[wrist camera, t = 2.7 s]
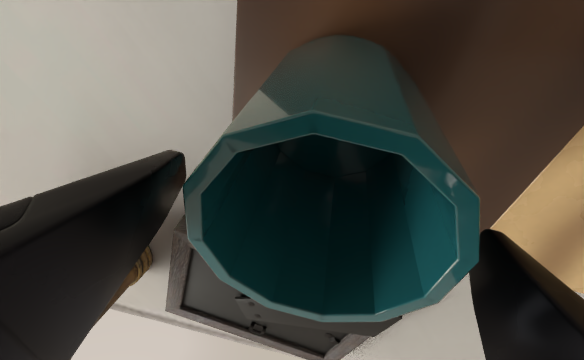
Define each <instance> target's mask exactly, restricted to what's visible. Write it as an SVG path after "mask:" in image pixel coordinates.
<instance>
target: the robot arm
mask: <svg viewBox="0 0 584 360" xmlns="http://www.w3.org/2000/svg"><path fill="white" fill-rule="evenodd" d="M185 179H186V166H185V157H184V154H183V153H181V152H177V151H173V150H167V151H164V152H161V153H158V154H155V155H152V156H149V157H146V158H144V159H141V160H138V161H135V162H132V163H129V164H126V165H123V166H120V167H117V168H114V169H111V170H108V171H105V172H102V173H99V174H96V175H93V176H90V177H87V178H84V179H81V180H78V181H75V182H72V183H69V184H66V185H63V186H60V187H57V188H54V189H52V190H49V191H46V192H43V193H40V194H37V195H34V197H28V198H25V199H22V200H19V201H16V202H13V203H10V204H7V205H4V206H1V207H0V360H70V359H71V358H72V356H73V355H74V353H75V352H76V350H77V349H78V347H79V346H80V344H81V343H82V341H83V340H84V338H85V337H86V336H87V334H88V333H89V331H90V330H91V328H92V327H93V325H94V324H95V322H96V321H97V320H98V318H99V317H100V315H101V314H102V312H103V311H104V309H105V308H106V306H107V305H108V303H109V302H110V300H111V299H112V297H113V296H114V295H115V293H116V292H117V290H118V289H119V287H120V286H121V284H122V283H123V281H124V280H125V278H126V277H127V275H128V274H129V273H130V271H131V270H132V268H133V267H134V265H135V264H136V262H137V261H138V259H139V258H140V256H141V255H142V253H143V252H144V251H145V249H146V248H147V246H148V245H149V243H150V242H151V240H152V239H153V237H154V236H155V234H156V233H157V231H158V230H159V228H160V227H161V225H162V224H163V222H164V220H165V219H166V217H167V215H168V213H169V211H170V209H171V207H172V205H173V203H174V202H175V200H176V198H177V196H178V194H179V192H180V190H181V188H182V186H183V184H184V182H185ZM469 276H470V285H471V293H472V300H473V306H474V311H475V315H476V319H477V324H478V328H479V332H480V337H481V341H482V345H483V349H484V354H485V358H486V360H584V299H583V298H581V297H580V296H579V295H578V294H577V293H575V292H574V291H573V290H572V289H571V288H569V287H568V286H567V285H566V284H564V283H563V282H562V281H561V280H560V279H558V278H557V277H556V276H555V275H554V274H552V273H551V272H550V271H549V270H548V269H546V268H545V267H544V266H543V265H541V264H540V263H539V262H538V261H537V260H535V259H534V258H533V257H532V256H531V255H529V254H528V253H527V252H526V251H525V250H523V249H522V248H521V247H520V246H518V245H517V244H516V243H515V242H514V241H512V240H511V239H510V238H509V237H508V236H506V235H505V234H504V233H502V232H500V231H496V230H492V229H485V230H483V231H482V232H481V233H480V259H479V262H478V263H477V264H476V265H475V266H474V267H473V268H472V269H471V270H470V271H469Z"/></svg>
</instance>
